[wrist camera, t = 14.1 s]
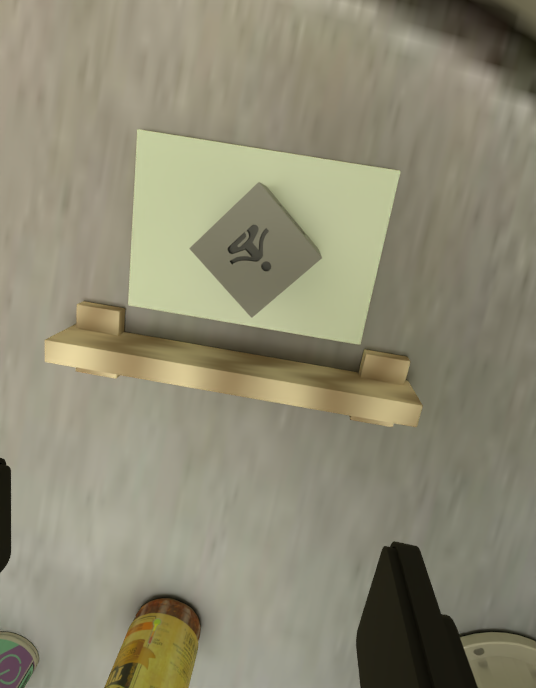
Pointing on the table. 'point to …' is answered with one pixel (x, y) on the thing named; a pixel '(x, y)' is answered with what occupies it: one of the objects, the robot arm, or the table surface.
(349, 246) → the pad
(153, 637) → the sauce bottle
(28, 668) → the spray can
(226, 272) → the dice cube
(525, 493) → the table surface
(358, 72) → the table surface
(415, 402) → the wooden barrier
